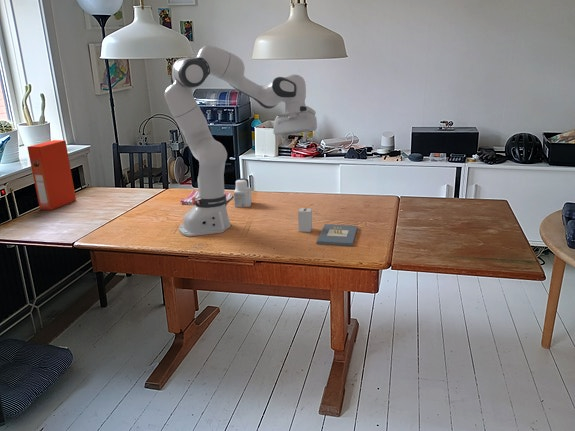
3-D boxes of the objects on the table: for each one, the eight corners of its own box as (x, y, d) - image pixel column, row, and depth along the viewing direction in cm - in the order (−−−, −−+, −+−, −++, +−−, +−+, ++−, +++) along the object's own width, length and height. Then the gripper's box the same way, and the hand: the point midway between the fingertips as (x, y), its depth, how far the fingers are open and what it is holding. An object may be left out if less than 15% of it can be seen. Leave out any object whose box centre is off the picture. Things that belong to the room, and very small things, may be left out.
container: (236, 202, 257) (234, 177, 252) (251, 202, 256) (250, 177, 252) (234, 207, 249) (232, 181, 245) (250, 206, 249) (248, 181, 245)
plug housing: (300, 227, 218) (300, 207, 215) (312, 228, 217) (311, 208, 214) (298, 231, 214) (298, 211, 211) (310, 232, 213) (309, 211, 210)
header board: (324, 226, 219) (324, 218, 218) (357, 228, 216) (357, 220, 214) (316, 243, 200) (316, 235, 199) (352, 246, 197) (352, 237, 196)
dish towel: (192, 195, 272) (191, 189, 271) (234, 197, 268) (233, 190, 267) (179, 205, 256) (179, 199, 255) (224, 207, 252) (223, 200, 251)
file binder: (39, 209, 256) (27, 146, 246) (63, 199, 272) (53, 140, 261) (52, 210, 254) (40, 147, 243) (76, 200, 269) (65, 140, 259)
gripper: (271, 113, 223) (269, 144, 221) (311, 106, 213) (311, 137, 210) (278, 118, 228) (277, 148, 226) (319, 111, 218) (318, 142, 216)
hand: (294, 143), depth 218 cm, fingers open, 8 cm apart
